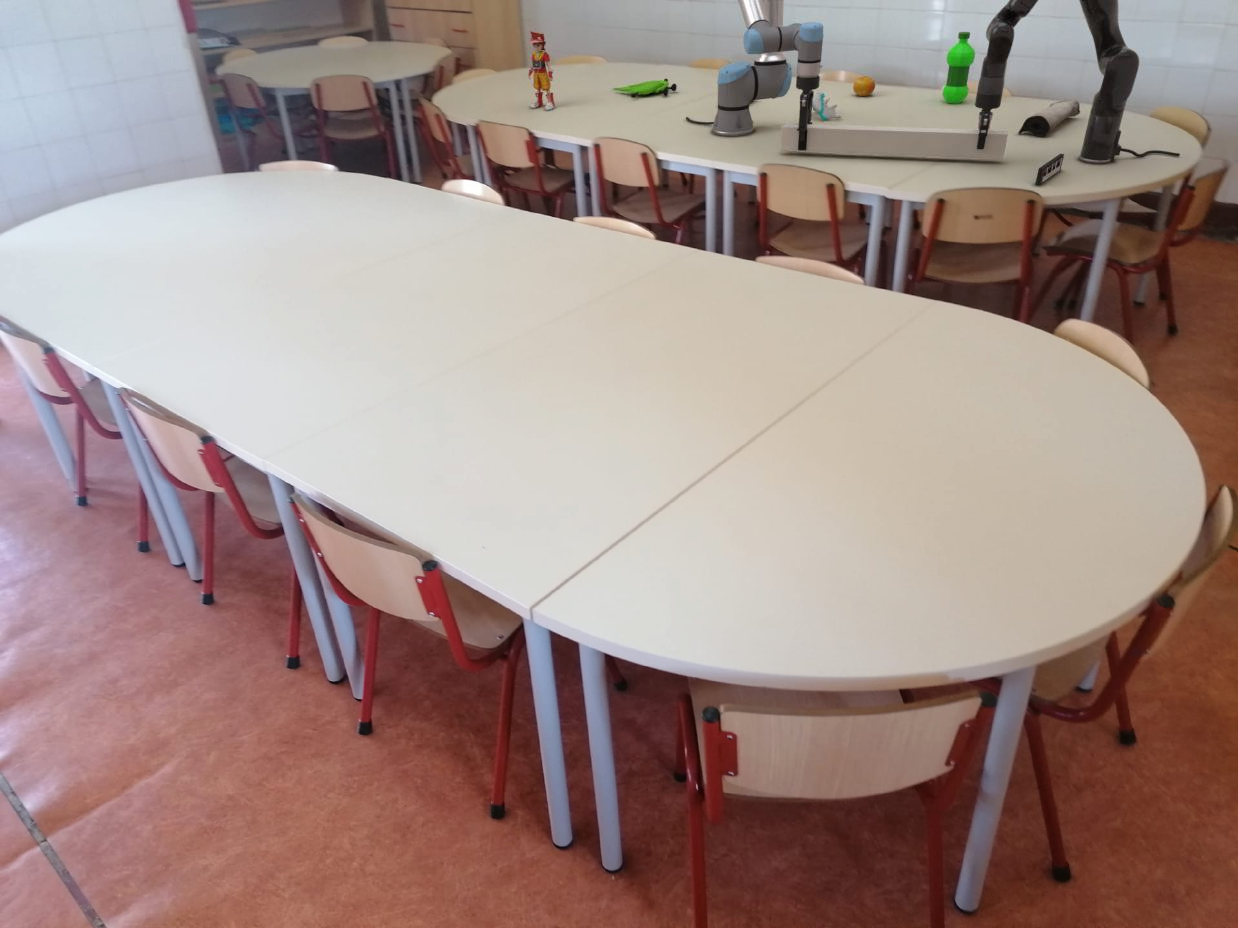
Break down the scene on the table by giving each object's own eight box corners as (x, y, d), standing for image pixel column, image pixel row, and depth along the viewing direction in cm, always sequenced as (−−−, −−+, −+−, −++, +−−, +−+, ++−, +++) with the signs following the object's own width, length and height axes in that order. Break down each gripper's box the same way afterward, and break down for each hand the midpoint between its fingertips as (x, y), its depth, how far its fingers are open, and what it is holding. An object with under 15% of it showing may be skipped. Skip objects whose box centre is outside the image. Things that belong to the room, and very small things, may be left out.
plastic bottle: (973, 101, 354) (984, 32, 339) (955, 106, 349) (966, 36, 335) (952, 97, 361) (962, 29, 346) (934, 102, 356) (944, 33, 342)
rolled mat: (1047, 105, 331) (1071, 88, 323) (1061, 126, 332) (1085, 109, 324) (1014, 127, 314) (1039, 109, 306) (1028, 149, 314) (1054, 132, 306)
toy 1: (525, 109, 381) (517, 32, 364) (534, 104, 388) (527, 28, 371) (550, 110, 377) (543, 32, 360) (559, 105, 384) (553, 28, 367)
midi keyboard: (1039, 185, 269) (1043, 168, 266) (1035, 184, 270) (1038, 168, 267) (1060, 170, 279) (1064, 154, 277) (1056, 169, 280) (1060, 153, 277)
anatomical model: (804, 89, 349) (829, 82, 348) (807, 116, 355) (832, 109, 354) (814, 99, 336) (840, 91, 335) (817, 126, 342) (843, 119, 341)
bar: (780, 150, 307) (781, 127, 303) (782, 146, 311) (784, 123, 306) (1003, 159, 286) (1007, 134, 282) (1002, 155, 290) (1007, 130, 286)
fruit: (848, 88, 368) (860, 70, 365) (850, 91, 375) (862, 74, 372) (865, 99, 366) (877, 81, 363) (867, 102, 374) (879, 85, 371)
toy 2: (686, 85, 398) (631, 84, 414) (685, 72, 395) (629, 72, 411) (651, 104, 381) (596, 103, 397) (650, 92, 378) (594, 91, 394)
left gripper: (815, 82, 285) (810, 156, 299) (823, 69, 299) (818, 140, 312) (792, 81, 287) (787, 155, 301) (801, 69, 301) (796, 139, 314)
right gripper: (1003, 96, 272) (992, 153, 282) (1002, 85, 283) (992, 141, 293) (976, 96, 275) (967, 152, 284) (977, 85, 285) (968, 140, 295)
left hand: (803, 147), depth 307 cm, fingers closed on bar, 5 cm apart
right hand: (980, 146), depth 289 cm, fingers closed on bar, 4 cm apart
